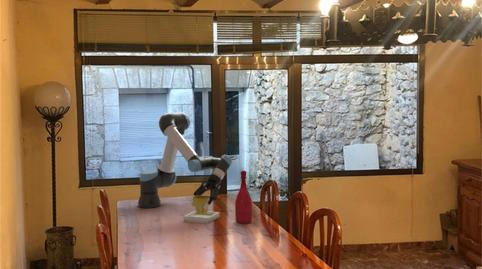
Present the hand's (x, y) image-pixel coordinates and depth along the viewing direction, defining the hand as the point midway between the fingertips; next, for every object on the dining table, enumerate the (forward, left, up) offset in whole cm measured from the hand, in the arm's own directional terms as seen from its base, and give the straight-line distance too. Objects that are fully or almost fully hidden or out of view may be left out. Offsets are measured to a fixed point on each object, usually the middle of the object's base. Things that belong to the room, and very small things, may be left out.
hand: (198, 207), depth 305 cm
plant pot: (+1, +3, -4) cm, 5 cm away
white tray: (+1, +3, -8) cm, 8 cm away
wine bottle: (+27, +5, -8) cm, 28 cm away
